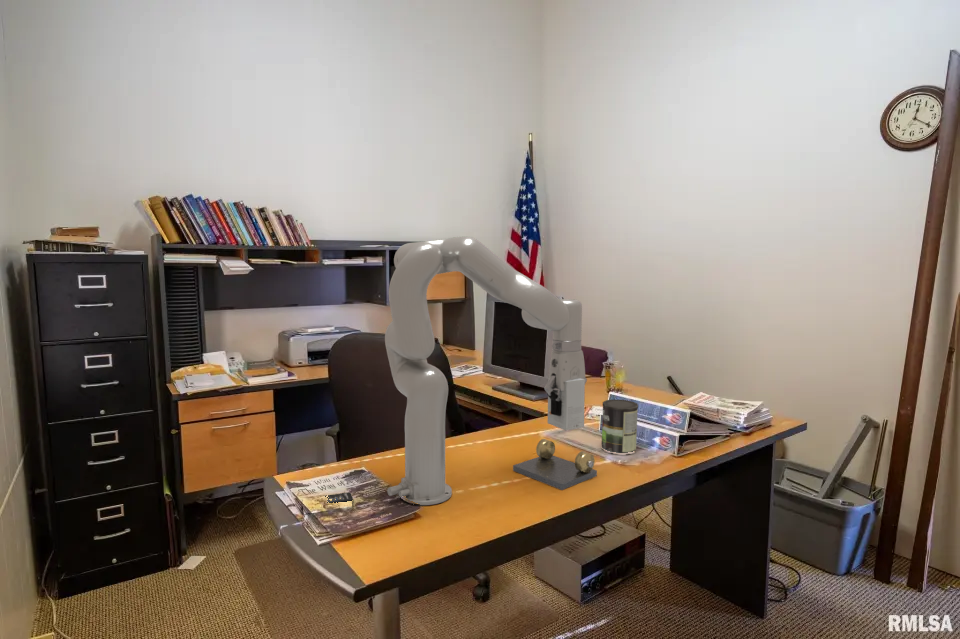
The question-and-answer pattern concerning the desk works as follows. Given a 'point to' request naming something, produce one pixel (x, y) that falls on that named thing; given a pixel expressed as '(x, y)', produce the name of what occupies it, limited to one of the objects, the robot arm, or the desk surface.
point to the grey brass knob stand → (557, 467)
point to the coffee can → (619, 426)
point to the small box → (570, 406)
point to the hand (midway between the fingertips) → (565, 411)
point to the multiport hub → (343, 496)
